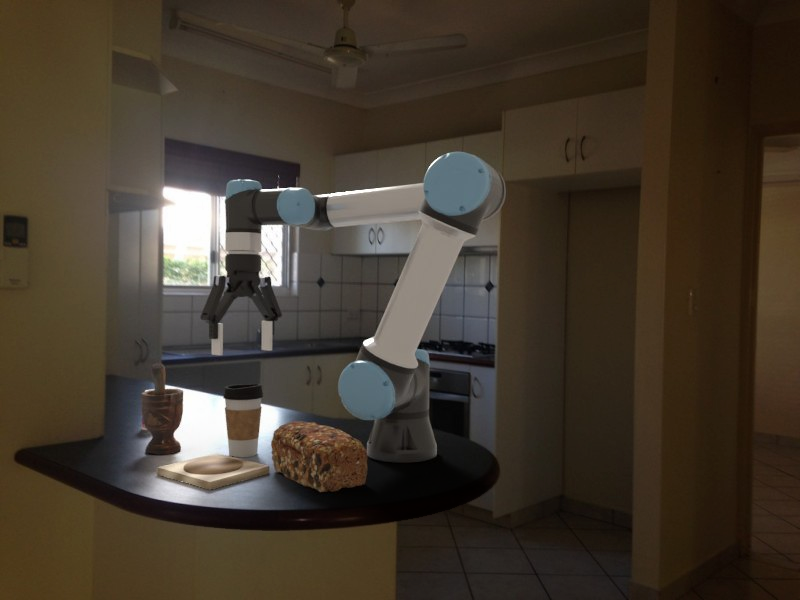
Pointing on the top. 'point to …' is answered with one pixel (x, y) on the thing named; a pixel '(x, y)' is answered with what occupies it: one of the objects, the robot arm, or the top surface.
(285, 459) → the bread
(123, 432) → the top surface
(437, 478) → the top surface
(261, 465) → the board
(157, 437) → the mortar and pestle
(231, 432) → the coffee cup
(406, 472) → the top surface
